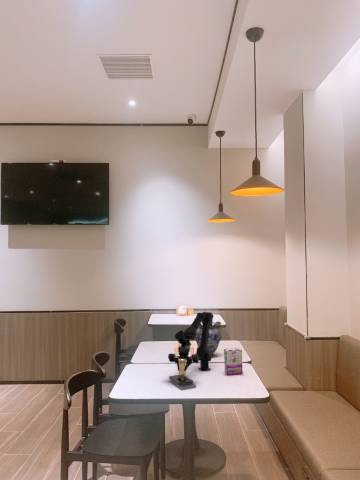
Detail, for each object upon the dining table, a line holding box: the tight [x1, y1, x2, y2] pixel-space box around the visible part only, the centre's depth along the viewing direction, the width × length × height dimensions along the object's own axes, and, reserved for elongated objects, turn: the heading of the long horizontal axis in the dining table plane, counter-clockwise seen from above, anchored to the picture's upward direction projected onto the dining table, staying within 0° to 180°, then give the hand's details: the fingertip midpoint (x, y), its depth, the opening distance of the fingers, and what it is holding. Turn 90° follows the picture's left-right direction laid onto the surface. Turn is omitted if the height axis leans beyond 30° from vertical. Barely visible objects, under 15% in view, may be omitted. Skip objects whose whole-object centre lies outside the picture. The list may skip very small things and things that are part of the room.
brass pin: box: [178, 358, 187, 381], centre depth 219 cm, size 5×5×14 cm
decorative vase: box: [194, 320, 222, 359], centre depth 285 cm, size 21×19×28 cm
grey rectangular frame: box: [168, 374, 197, 391], centre depth 219 cm, size 18×10×3 cm, turn 25°
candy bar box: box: [223, 347, 243, 377], centre depth 238 cm, size 11×5×16 cm, turn 101°
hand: (181, 370), depth 218 cm, fingers closed on brass pin, 4 cm apart
